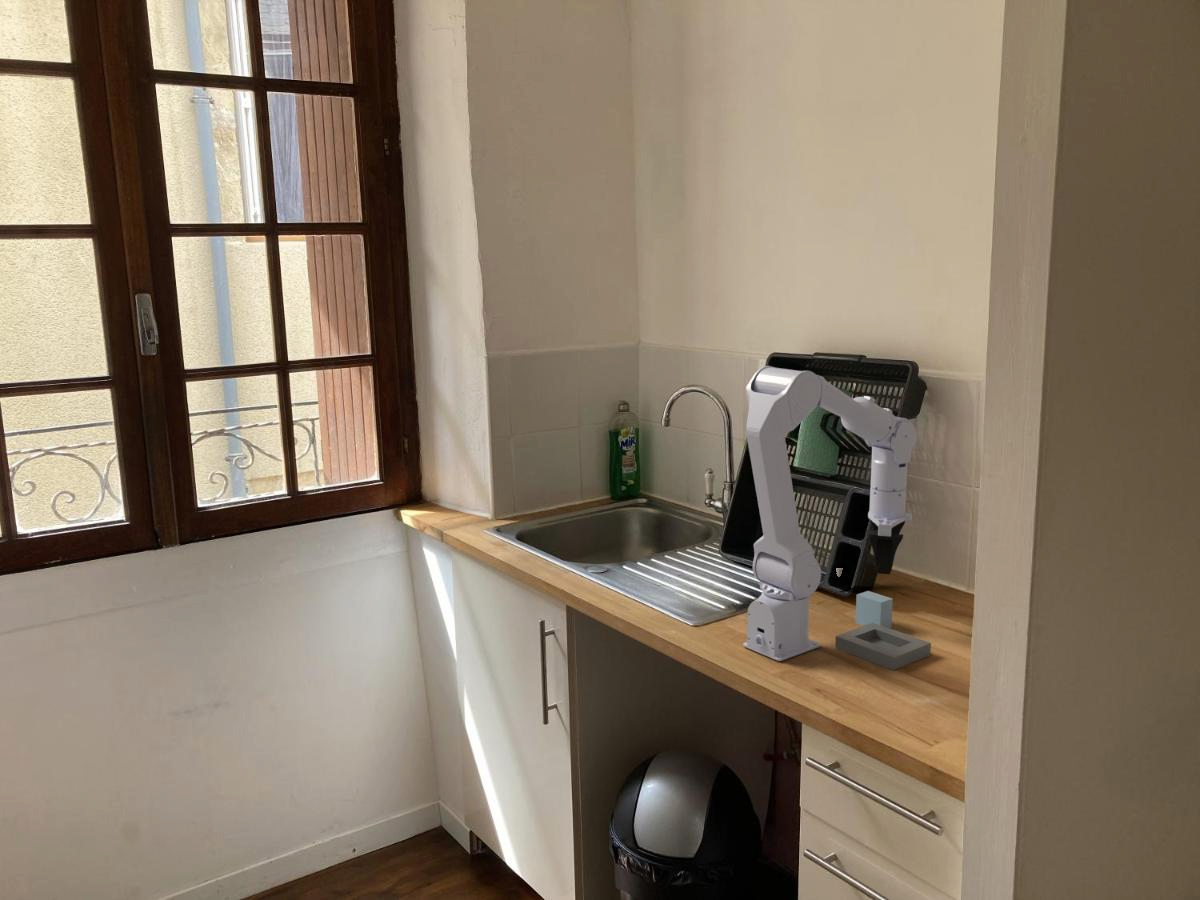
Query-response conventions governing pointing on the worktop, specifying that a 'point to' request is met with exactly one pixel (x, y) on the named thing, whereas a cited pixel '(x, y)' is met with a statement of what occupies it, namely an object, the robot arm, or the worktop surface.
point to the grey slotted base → (883, 646)
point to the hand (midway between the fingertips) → (884, 566)
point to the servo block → (873, 609)
